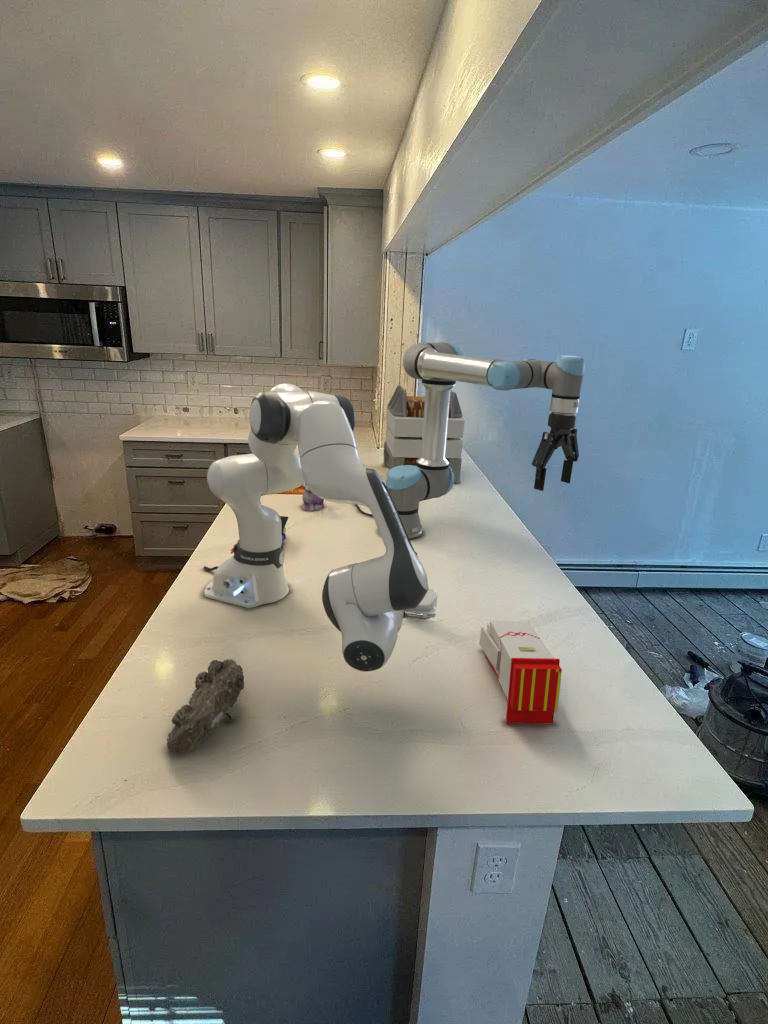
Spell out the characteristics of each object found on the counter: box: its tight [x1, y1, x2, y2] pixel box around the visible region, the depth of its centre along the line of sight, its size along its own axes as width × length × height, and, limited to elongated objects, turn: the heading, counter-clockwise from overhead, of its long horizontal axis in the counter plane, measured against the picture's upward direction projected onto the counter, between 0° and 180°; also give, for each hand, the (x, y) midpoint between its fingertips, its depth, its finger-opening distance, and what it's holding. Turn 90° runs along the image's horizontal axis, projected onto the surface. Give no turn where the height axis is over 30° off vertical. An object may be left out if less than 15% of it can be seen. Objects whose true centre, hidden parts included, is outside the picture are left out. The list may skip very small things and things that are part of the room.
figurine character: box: [279, 515, 289, 543], centre depth 186 cm, size 7×8×15 cm
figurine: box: [302, 481, 325, 511], centre depth 219 cm, size 9×10×15 cm
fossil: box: [166, 658, 245, 754], centre depth 106 cm, size 22×10×15 cm
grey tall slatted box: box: [383, 384, 465, 484], centre depth 268 cm, size 34×33×41 cm
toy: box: [478, 620, 563, 725], centre depth 121 cm, size 12×13×30 cm
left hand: (393, 581), depth 122 cm, fingers open, 8 cm apart
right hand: (552, 485), depth 166 cm, fingers open, 13 cm apart
